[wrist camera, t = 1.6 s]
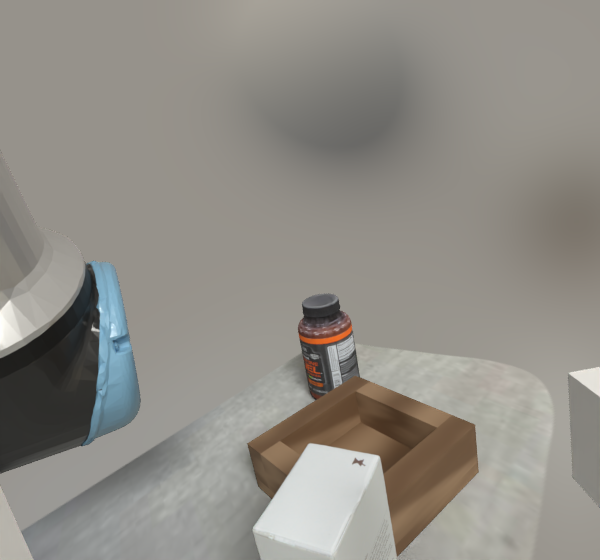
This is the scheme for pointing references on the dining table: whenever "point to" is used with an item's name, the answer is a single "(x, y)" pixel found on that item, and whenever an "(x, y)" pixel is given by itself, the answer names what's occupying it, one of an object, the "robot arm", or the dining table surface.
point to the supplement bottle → (326, 344)
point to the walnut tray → (379, 449)
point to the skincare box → (328, 510)
